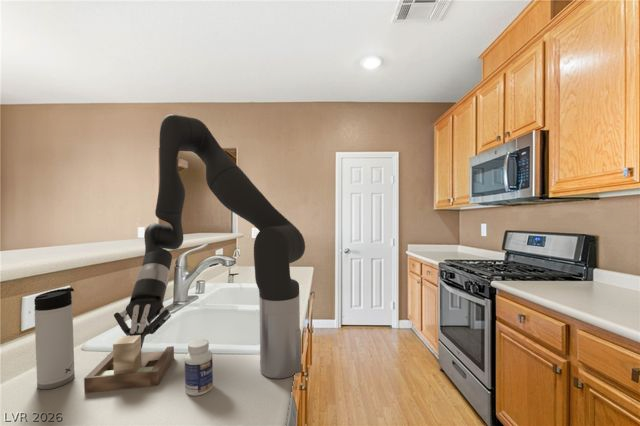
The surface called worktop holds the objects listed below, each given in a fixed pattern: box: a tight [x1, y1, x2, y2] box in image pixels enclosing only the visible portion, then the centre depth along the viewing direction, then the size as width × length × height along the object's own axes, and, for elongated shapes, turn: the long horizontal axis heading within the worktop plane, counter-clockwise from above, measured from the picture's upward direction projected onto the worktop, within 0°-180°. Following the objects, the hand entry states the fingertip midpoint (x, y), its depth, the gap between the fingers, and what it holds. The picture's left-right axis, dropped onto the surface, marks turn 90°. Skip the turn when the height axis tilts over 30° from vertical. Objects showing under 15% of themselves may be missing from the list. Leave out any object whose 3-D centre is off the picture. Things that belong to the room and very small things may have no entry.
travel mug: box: [33, 286, 76, 390], centre depth 68 cm, size 6×7×20 cm
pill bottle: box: [184, 338, 214, 397], centre depth 65 cm, size 5×5×10 cm
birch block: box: [112, 335, 142, 374], centre depth 69 cm, size 4×4×7 cm
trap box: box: [83, 345, 175, 394], centre depth 71 cm, size 14×12×3 cm
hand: (133, 351), depth 71 cm, fingers closed
